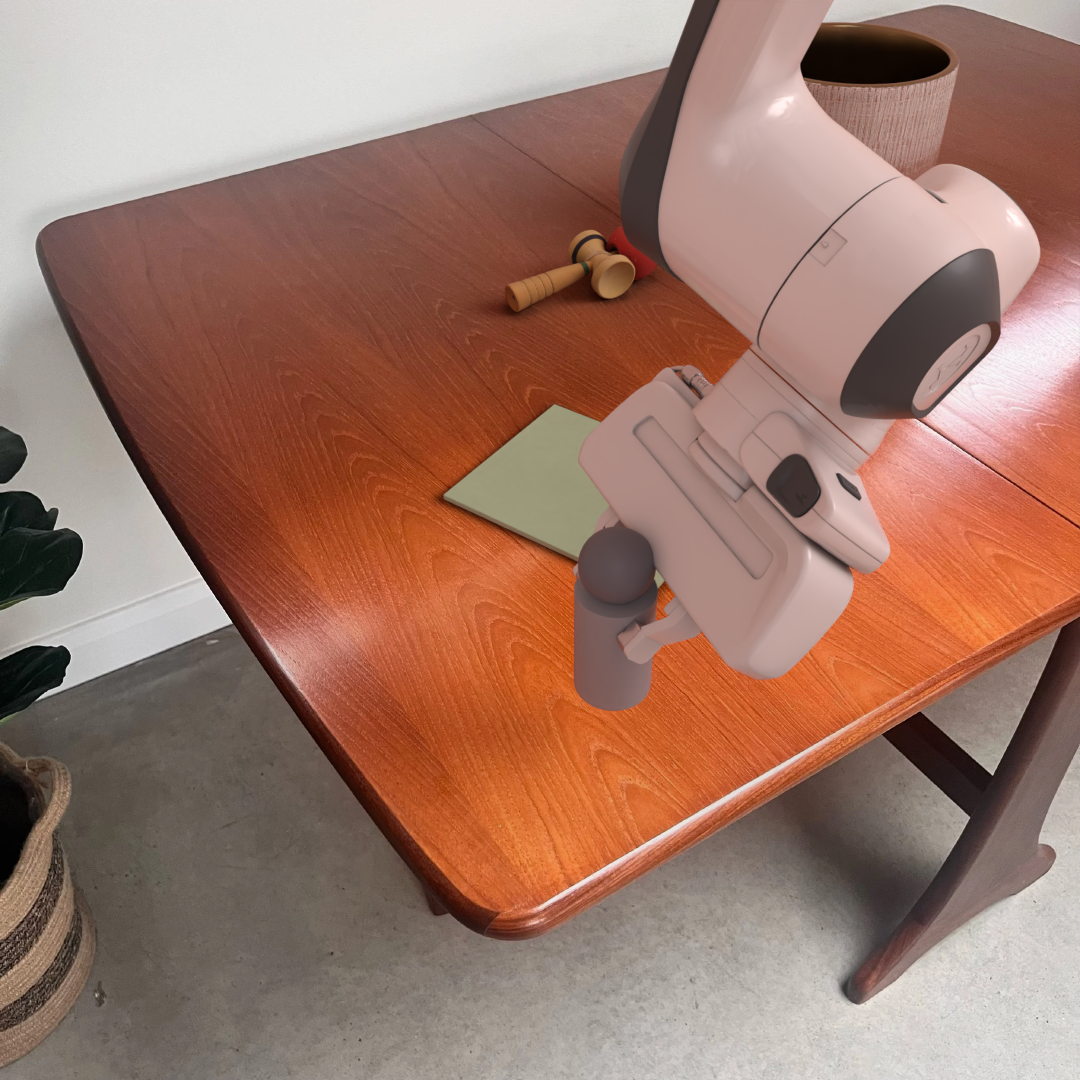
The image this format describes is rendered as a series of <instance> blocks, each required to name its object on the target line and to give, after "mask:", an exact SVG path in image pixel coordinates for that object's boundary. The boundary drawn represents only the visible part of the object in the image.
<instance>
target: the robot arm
mask: <svg viewBox="0 0 1080 1080" xmlns="http://www.w3.org/2000/svg"><path fill="white" fill-rule="evenodd" d="M834 1H835V0H693V2H692V6H691V7H690V10H689V13H688V16H687V18H686V21H685V24H684V27H683V29H682V32H681V35H680V38H679V40H678V42H677V45H676V47H675V51H674V52H673V53H674V54H673V56H672V58H671V61H670V63H669V65H668V68H667V71H666V73H665V75H664V77H663V79H662V81H661V83H660V84H659V87H658V88H657V90H656V91H655V93H654V94H653V96H652V98H651V100H650V102H649V103H648V105H647V107H646V108H645V110H644V112H643V113H642V115H641V117H640V119H639V120H638V122H637V124H636V126H635V128H634V130H633V132H632V133H631V135H630V137H629V139H628V142H627V144H626V146H625V149H624V151H623V154H622V158H621V161H620V167H619V172H618V173H619V175H618V203H619V214H620V220H621V226H622V227H623V231H624V234H625V236H626V238H627V240H628V241H629V243H630V244H631V245H632V246H633V247H635V248H636V249H637V250H639V251H640V252H641V253H643V254H644V255H645V256H647V257H648V258H649V259H651V260H652V261H653V262H655V263H656V264H657V266H659V267H660V268H661V269H663V270H664V271H665V272H666V273H667V274H669V275H670V276H672V277H673V278H675V279H676V280H677V281H679V282H681V283H683V284H685V285H686V286H687V287H689V288H690V289H691V290H692V291H694V292H695V294H697V295H698V296H699V297H700V298H701V299H702V300H703V301H705V302H706V303H707V304H708V305H709V306H710V307H711V308H712V309H714V310H715V312H717V313H718V314H719V315H720V316H721V317H722V318H723V319H724V320H726V321H727V322H728V323H729V324H730V325H731V326H732V327H733V328H735V329H736V330H737V331H738V332H739V333H740V334H741V335H742V336H743V337H744V338H746V339H747V340H748V341H749V342H750V343H751V344H750V346H749V347H748V348H747V349H746V350H745V351H744V352H743V353H742V355H740V357H739V358H738V359H737V360H736V361H735V362H734V363H733V365H731V367H729V368H728V370H727V371H726V372H725V373H724V375H722V376H721V378H720V379H718V381H716V383H715V384H713V383H711V382H710V381H709V380H708V379H707V378H706V376H705V374H704V373H703V372H702V371H701V370H700V369H699V368H698V367H696V366H695V365H693V364H686V365H673V366H670V367H668V366H667V367H664V368H663V369H662V370H660V371H659V372H658V373H657V374H656V375H655V376H654V378H653V379H652V380H651V381H650V382H649V383H646V384H645V385H643V386H641V387H639V388H638V389H637V390H635V391H634V392H632V394H630V395H629V396H628V397H626V398H625V399H624V400H623V401H622V402H621V403H620V404H619V405H618V406H617V407H616V408H614V409H613V411H611V412H610V413H609V414H608V415H607V416H606V417H604V419H603V420H602V421H600V422H601V423H600V424H599V425H598V426H597V427H596V428H595V429H594V430H593V431H592V432H591V433H590V434H589V435H588V436H587V438H586V439H585V440H584V442H583V443H582V446H581V450H580V453H579V457H578V463H579V465H580V466H581V467H582V469H583V470H584V471H585V473H586V474H587V476H588V477H589V478H590V480H591V481H592V482H593V484H594V485H595V486H596V488H597V489H598V491H599V492H600V493H601V495H602V496H603V497H604V499H605V500H606V501H607V503H608V504H609V507H608V509H607V510H606V511H605V512H604V513H603V514H602V515H601V516H600V517H599V518H598V521H597V524H596V527H595V530H594V533H596V532H598V531H600V530H602V529H604V528H608V527H615V526H619V527H626V528H630V529H632V530H634V531H636V532H638V533H639V534H641V535H642V536H643V537H644V538H645V539H646V540H647V541H648V543H649V544H650V546H651V549H652V552H653V559H654V567H655V568H656V570H657V571H658V572H659V574H660V575H661V576H662V578H663V579H664V582H665V583H666V585H667V586H668V587H669V589H670V590H671V591H672V593H673V595H674V596H673V598H672V599H671V600H669V602H668V603H667V604H666V605H665V606H664V607H663V612H664V613H665V614H666V616H665V617H663V618H660V619H658V620H656V621H655V622H652V623H650V624H645V625H644V624H643V623H642V622H640V621H638V620H636V619H634V620H633V621H632V622H631V623H630V624H628V625H627V626H626V628H625V631H623V632H620V633H619V634H618V636H617V638H616V639H617V643H618V644H619V646H620V647H621V649H622V650H623V652H624V654H625V655H626V657H627V658H628V659H629V660H631V661H633V662H636V663H638V664H643V663H646V662H647V661H648V660H649V659H650V658H651V657H652V656H653V657H654V656H655V655H656V654H657V652H658V651H660V650H661V649H662V647H664V646H669V645H673V644H676V643H681V642H684V641H688V640H691V639H694V638H697V637H698V636H699V635H700V634H701V633H702V634H703V635H704V637H705V638H706V640H707V641H708V642H709V643H710V645H711V647H712V648H713V649H714V650H715V651H716V653H717V655H718V656H719V657H720V659H721V660H722V661H723V662H724V664H725V665H727V666H728V667H729V668H731V669H732V670H734V671H736V672H738V673H739V674H742V675H744V676H746V677H748V678H751V679H752V680H755V681H767V680H774V679H779V678H781V677H783V676H784V675H785V674H787V673H789V671H791V669H793V668H794V667H795V666H796V665H797V664H798V663H799V662H800V661H801V660H802V659H803V658H804V657H805V656H806V655H807V654H808V653H809V652H810V651H811V650H813V648H814V647H815V646H816V645H817V643H818V642H819V641H820V640H821V639H822V638H823V637H824V636H825V635H826V633H827V632H828V631H829V630H830V629H831V628H832V626H833V625H834V624H835V623H836V621H837V620H838V619H839V618H840V617H841V616H842V614H843V613H844V611H845V610H846V608H847V607H848V605H849V603H850V601H851V598H852V595H853V593H854V588H855V581H854V580H855V579H854V576H853V572H852V570H851V569H853V570H854V571H856V572H857V573H859V574H862V575H870V574H872V573H874V572H875V571H876V570H878V569H880V568H881V566H882V565H883V564H884V563H886V561H887V560H888V559H889V557H890V555H891V544H890V542H889V539H888V537H887V535H886V532H885V530H884V529H883V526H882V524H881V522H880V519H879V518H878V516H877V513H876V511H875V509H874V507H873V504H872V502H871V500H870V498H869V495H868V492H867V490H866V489H865V485H864V484H863V480H862V478H861V476H860V474H859V473H858V472H857V471H859V470H860V469H861V467H862V466H864V465H865V464H866V463H867V462H868V461H869V459H871V457H872V456H873V455H874V454H875V453H876V452H877V451H878V449H879V447H880V446H881V444H882V442H883V441H884V439H885V437H886V435H887V433H888V432H889V431H890V429H891V427H892V426H893V425H894V424H895V422H897V420H920V419H924V418H926V417H927V416H929V414H930V413H932V411H933V410H935V409H936V407H938V405H939V404H940V403H941V402H942V401H943V400H944V399H945V398H946V397H947V396H948V395H949V394H950V393H951V392H952V391H953V390H955V388H956V387H957V386H958V385H959V384H960V383H961V382H962V381H963V380H964V379H965V378H966V377H967V376H968V375H969V374H970V373H971V372H972V371H973V370H974V369H975V368H976V367H977V366H978V365H979V364H980V363H981V362H982V361H983V360H984V359H985V358H986V357H987V356H988V355H989V354H990V353H991V351H993V349H994V348H995V346H996V345H997V343H998V341H999V340H1000V338H1001V333H1002V323H1001V322H1002V321H1001V320H1002V317H1003V315H1004V314H1005V313H1006V311H1007V310H1008V309H1009V308H1010V306H1011V305H1012V303H1013V302H1014V301H1015V300H1016V299H1017V297H1018V296H1019V295H1020V293H1021V292H1022V290H1023V289H1024V287H1025V286H1026V284H1027V283H1028V281H1029V280H1030V279H1031V277H1032V276H1033V274H1034V272H1035V271H1036V269H1037V268H1038V265H1039V262H1040V259H1041V246H1040V242H1039V238H1038V235H1037V232H1036V230H1035V228H1034V226H1033V224H1032V222H1031V221H1030V219H1029V217H1028V216H1027V215H1026V213H1025V212H1024V211H1023V209H1022V207H1021V206H1020V205H1019V204H1018V202H1017V201H1016V200H1015V199H1014V198H1013V197H1012V196H1011V195H1010V194H1009V193H1008V192H1006V190H1004V189H1003V188H1002V187H1001V186H999V185H998V184H997V183H996V182H994V181H993V180H991V179H989V178H988V177H987V176H985V175H983V174H981V173H980V172H978V171H976V170H974V169H971V168H969V167H967V166H963V165H959V164H954V163H940V164H938V165H937V164H936V166H934V167H932V168H931V169H929V170H928V171H926V172H925V173H923V174H922V175H921V176H919V177H918V178H917V179H915V180H914V181H913V180H911V179H910V178H909V177H905V176H904V175H903V174H901V173H900V172H899V171H898V170H896V169H895V168H894V167H892V166H891V165H890V164H889V163H887V162H886V161H885V160H883V159H882V158H881V157H880V156H878V155H877V154H876V153H875V152H873V151H872V150H871V149H869V148H868V147H867V146H866V145H864V144H863V143H862V142H861V141H859V140H858V139H857V138H855V137H854V136H853V135H852V134H850V133H849V132H848V131H847V130H845V129H844V128H843V127H841V126H840V125H839V124H838V123H836V122H835V121H834V120H833V119H832V118H831V117H829V116H828V115H827V114H826V113H825V111H824V110H823V109H822V108H821V107H820V106H819V104H818V103H817V102H816V100H815V99H814V98H813V96H812V95H811V93H810V92H809V90H808V88H807V86H806V84H805V82H804V80H803V77H802V73H801V69H800V63H801V61H802V59H803V57H804V55H805V53H806V51H807V49H808V48H809V46H810V44H811V42H812V40H813V38H814V36H815V35H816V33H817V31H818V29H819V27H820V25H821V23H823V22H824V20H825V18H826V16H827V14H828V12H829V10H830V8H831V7H832V5H833V3H834ZM679 373H680V375H679ZM594 533H593V534H594ZM572 574H573V576H574V577H575V580H577V578H578V576H579V573H578V562H577V563H576V564H575V565H574V566H573V568H572Z"/></svg>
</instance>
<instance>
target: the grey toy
mask: <svg viewBox="0 0 1080 1080" xmlns="http://www.w3.org/2000/svg"><path fill="white" fill-rule="evenodd" d="M577 563H578V573H579V576H578V578H577V579H575V582H574V586H573V603H574V604H573V685H574V686H573V687H574V690H575V691H576V693H577V695H578V696H579V698H581V699H582V700H583V702H584V703H586V704H587V705H589V706H591V707H594V708H595V709H598V710H601V711H607V712H619V711H620V712H621V711H626V710H629V709H632V708H634V707H636V706H638V705H639V704H640V703H642V702H643V701H644V700H645V699H646V698H647V696H648V694H649V693H650V690H651V686H652V675H653V662H654V661H653V660H654V655H653V656H652V657H651V658H650V659H649V660H648V661H647V662H646V663H643V664H638V663H636V662H633V661H631V660H629V659H628V658H627V657H626V655H625V654H624V652H623V650H622V649H621V647H620V646H619V644H618V643H617V639H616V638H617V636H618V634H619V633H620V632H623V631H625V628H626V626H627V625H628V624H630V623H631V622H632V621H633V620H634V619H636V620H638V621H640V622H642V623H643V624H644V625H645V624H650V623H652V622H655V621H657V610H658V598H659V597H658V596H659V588H658V587H657V584H656V581H655V580H654V577H655V573H656V568H655V567H654V559H653V552H652V549H651V546H650V544H649V543H648V541H647V540H646V539H645V538H644V537H643V536H642V535H641V534H639V533H638V532H636V531H634V530H632V529H630V528H626V527H619V526H615V527H608V528H604V529H602V530H600V531H598V532H596V533H594V534H593V535H592V536H591V537H590V538H589V539H588V540H587V541H586V542H585V544H584V545H583V547H582V549H581V551H580V554H579V558H578V562H577Z"/></svg>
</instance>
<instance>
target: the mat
mask: <svg viewBox="0 0 1080 1080" xmlns="http://www.w3.org/2000/svg"><path fill="white" fill-rule="evenodd" d="M601 422H602V421H599V420H596V419H594V418H591V417H589V416H586V415H583V414H580V413H578V412H575V411H573V410H571V409H568V408H566V407H563V406H560V405H557V404H556V403H555V404H553V405H551V406H550V407H549V408H548V409H547V410H546V411H544V412H543V413H542V414H540V415H539V416H538V417H537V418H536V419H534V420H533V421H531V422H530V423H529V425H527V426H526V427H525V428H523V429H522V430H521V431H520V432H518V433H517V434H516V435H515V436H514V437H512V438H511V439H510V440H509V441H507V442H506V443H505V444H504V445H502V446H501V447H500V448H499V449H498V450H496V451H495V452H494V453H493V454H492V455H490V456H489V457H487V459H485V460H484V461H483V462H482V463H480V464H479V465H478V466H476V468H474V469H473V470H472V471H471V472H469V473H468V474H467V475H466V476H464V477H463V478H462V479H461V480H460V481H458V482H457V483H456V484H455V485H454V486H452V487H451V488H450V489H448V490H447V491H446V492H445V493H444V494H443V500H445V501H446V502H449V503H451V504H453V505H455V506H458V507H459V508H462V509H463V510H466V511H468V512H470V513H472V514H475V515H476V516H479V517H481V518H482V519H486V520H487V521H490V522H492V523H494V524H496V525H498V526H501V527H502V528H505V529H507V530H509V531H511V532H513V533H515V534H517V535H520V536H522V537H524V538H526V539H528V540H531V541H533V542H535V543H537V544H539V545H542V546H543V547H545V548H547V549H549V550H552V551H554V552H555V553H558V554H560V555H562V556H565V557H567V558H569V559H571V560H573V561H576V562H577V563H578V558H579V554H580V551H581V549H582V547H583V545H584V544H585V542H586V541H587V540H588V539H589V538H590V537H591V536H592V535H593V533H594V530H595V527H596V524H597V521H598V518H599V517H600V516H601V515H602V514H603V513H604V512H605V511H606V510H607V509H608V507H609V504H608V503H607V501H606V500H605V499H604V497H603V496H602V495H601V493H600V492H599V491H598V489H597V488H596V486H595V485H594V484H593V482H592V481H591V480H590V478H589V477H588V476H587V474H586V473H585V471H584V470H583V469H582V467H581V466H580V465H579V463H578V457H579V453H580V450H581V446H582V443H583V442H584V440H585V439H586V438H587V436H588V435H589V434H590V433H591V432H592V431H593V430H594V429H595V428H596V427H597V426H598V425H599V424H600V423H601ZM654 580H655V581H656V584H657V587H658V589H659V588H660V587H661V586H662V585H663V584H664V582H665V581H664V579H663V578H662V576H661V575H660V574H659V572H658V571H657V570H656V573H655V577H654Z"/></svg>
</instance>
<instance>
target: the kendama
mask: <svg viewBox="0 0 1080 1080" xmlns="http://www.w3.org/2000/svg"><path fill="white" fill-rule="evenodd" d="M567 258H568V261H569V262H570V263H571V264H568V265H565V266H561V267H558V268H554V269H551V270H548V271H546V272H545V271H544V272H542V273H540V274H536V275H533V276H531V277H527V278H524V279H520V280H518V281H515V282H511V283H508V284H506V285H505V286H504V294H505V298H506V299H505V300H506V302H507V303H508V305H509V307H510V308H511V310H512V311H513V312H515V313H518V312H521V311H522V310H525V309H526V308H528V307H530V306H531V305H534V304H536V303H538V302H540V301H542V300H544V299H546V298H548V297H551V296H552V295H554V294H556V293H558V292H561V291H563V290H565V289H566V288H568V287H570V286H571V285H573V284H575V283H576V282H578V281H580V280H582V279H584V278H585V277H586V276H589V275H590V274H592V276H591V287H592V289H593V291H594V292H595V293H596V294H597V295H598V296H599V297H601V298H603V299H605V300H611V299H616V298H618V297H620V296H622V295H623V294H624V293H625V292H626V291H628V289H629V288H630V287H631V286H632V284H633V282H634V281H636V280H637V281H638V280H642V279H645V278H646V277H648V276H649V275H650V274H652V273H653V272H654V271H655V270H656V268H657V267H658V265H657V264H656V263H655V262H653V261H652V260H651V259H649V258H648V257H647V256H645V255H644V254H643V253H641V252H640V251H639V250H637V249H636V248H635V247H633V246H632V245H631V244H630V243H629V241H628V240H627V238H626V236H625V234H624V231H623V227H622V225H620V226H618V227H617V228H616V229H615V230H613V231H612V233H611V234H610V236H609V237H608V239H607V240H606V238H605V237H604V235H602V234H601V233H600V232H598V231H596V230H594V229H587V230H584V231H581V232H580V233H578V234H576V236H575V237H573V239H572V240H571V242H570V244H569V245H568V249H567Z"/></svg>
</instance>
